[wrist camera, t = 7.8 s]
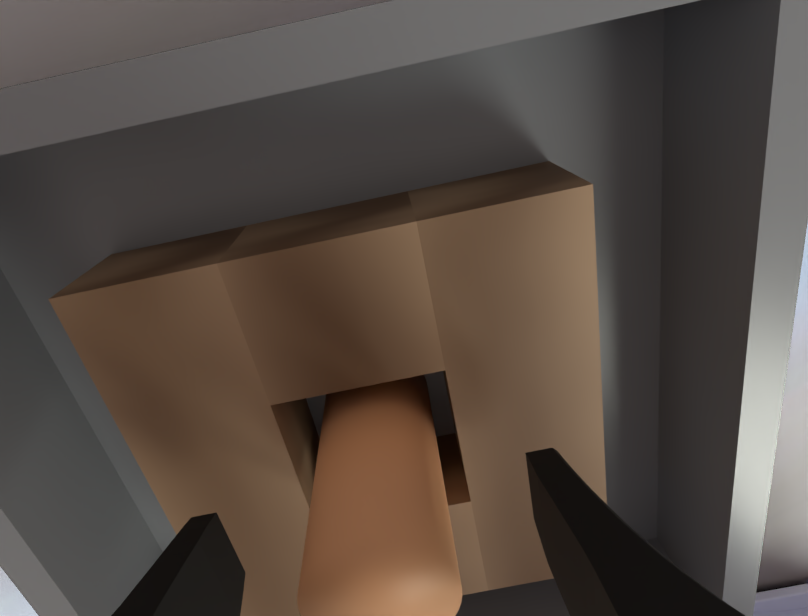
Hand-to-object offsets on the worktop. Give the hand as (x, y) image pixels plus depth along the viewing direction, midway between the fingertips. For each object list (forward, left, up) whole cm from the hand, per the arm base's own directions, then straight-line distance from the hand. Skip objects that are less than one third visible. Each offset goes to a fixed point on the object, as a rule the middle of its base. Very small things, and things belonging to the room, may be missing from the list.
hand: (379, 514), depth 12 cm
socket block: (0, 0, -6) cm, 6 cm away
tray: (0, 0, -6) cm, 6 cm away
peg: (0, 0, -5) cm, 5 cm away
